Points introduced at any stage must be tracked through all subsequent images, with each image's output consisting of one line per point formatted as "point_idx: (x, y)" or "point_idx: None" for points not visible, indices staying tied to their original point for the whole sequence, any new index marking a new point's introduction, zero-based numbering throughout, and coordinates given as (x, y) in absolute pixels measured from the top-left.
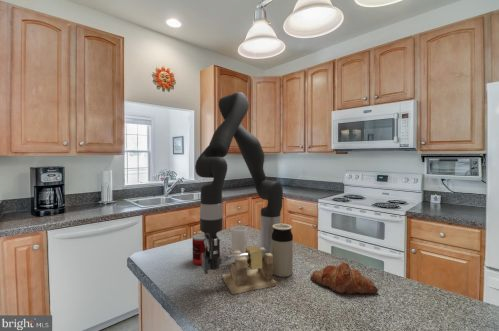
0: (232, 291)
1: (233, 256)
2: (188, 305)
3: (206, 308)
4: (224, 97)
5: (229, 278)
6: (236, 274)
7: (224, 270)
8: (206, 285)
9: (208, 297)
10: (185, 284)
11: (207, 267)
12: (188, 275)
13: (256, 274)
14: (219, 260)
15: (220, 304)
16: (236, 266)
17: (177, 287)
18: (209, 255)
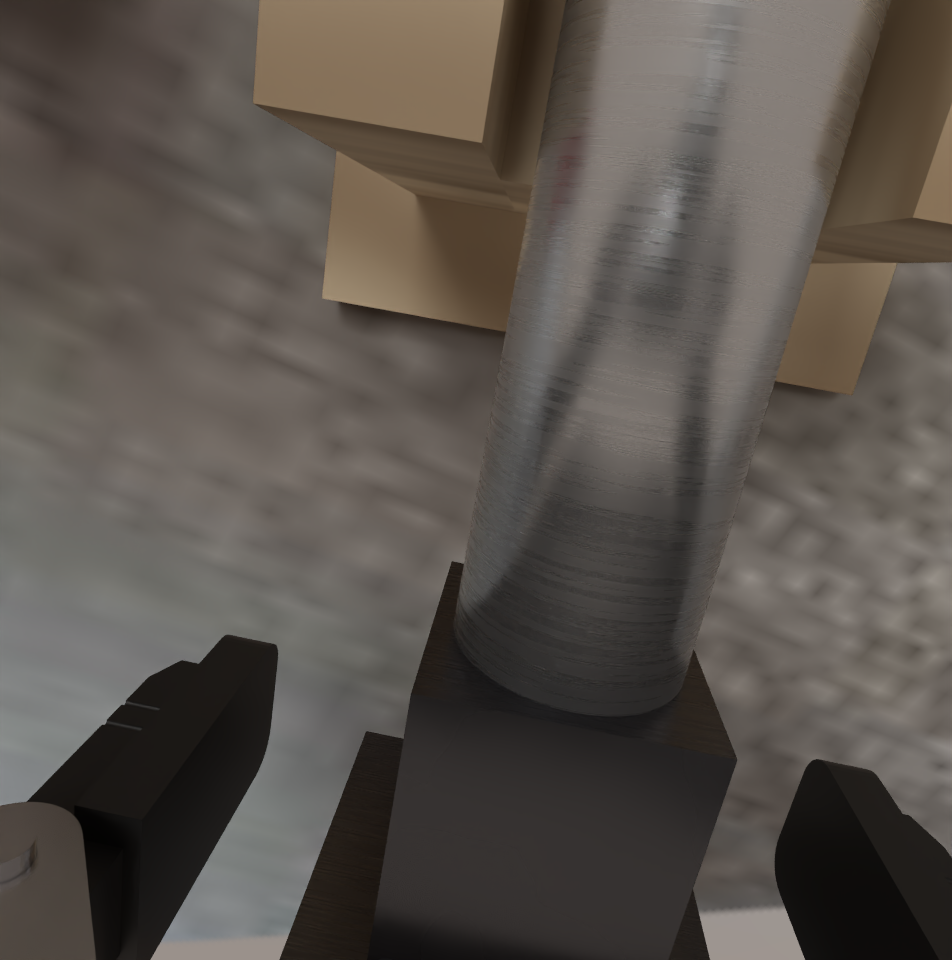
0: (852, 380)
1: (794, 228)
2: (719, 847)
3: (890, 737)
4: None
5: (501, 253)
6: (839, 253)
7: (119, 156)
8: (434, 563)
9: (706, 644)
10: (294, 743)
11: (695, 904)
12: (89, 650)
13: None
14: (683, 679)
15: (929, 593)
16: (931, 248)
17: (321, 824)
18: (403, 885)
